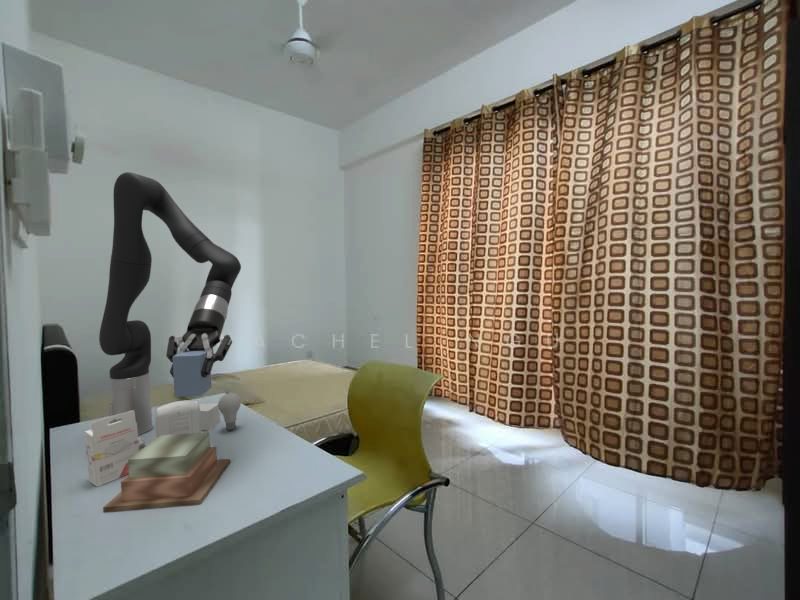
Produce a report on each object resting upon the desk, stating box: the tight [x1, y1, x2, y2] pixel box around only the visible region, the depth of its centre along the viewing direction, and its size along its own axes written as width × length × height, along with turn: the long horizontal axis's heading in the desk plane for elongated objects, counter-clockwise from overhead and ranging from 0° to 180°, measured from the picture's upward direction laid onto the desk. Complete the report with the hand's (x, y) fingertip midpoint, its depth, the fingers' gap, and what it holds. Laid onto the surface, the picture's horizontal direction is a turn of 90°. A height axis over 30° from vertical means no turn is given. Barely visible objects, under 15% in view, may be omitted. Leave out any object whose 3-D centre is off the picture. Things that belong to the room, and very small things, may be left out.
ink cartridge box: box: [84, 410, 140, 488], centre depth 81 cm, size 9×5×15 cm, turn 148°
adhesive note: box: [199, 403, 221, 431], centre depth 108 cm, size 6×6×6 cm
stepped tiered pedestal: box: [102, 431, 231, 513], centre depth 77 cm, size 18×16×9 cm
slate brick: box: [172, 351, 212, 398], centre depth 80 cm, size 6×6×9 cm
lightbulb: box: [217, 392, 242, 431], centre depth 105 cm, size 6×6×11 cm
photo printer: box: [155, 399, 202, 438], centre depth 95 cm, size 10×4×12 cm, turn 123°
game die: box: [138, 436, 146, 450], centre depth 94 cm, size 4×4×3 cm
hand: (189, 376), depth 78 cm, fingers closed on slate brick, 5 cm apart
